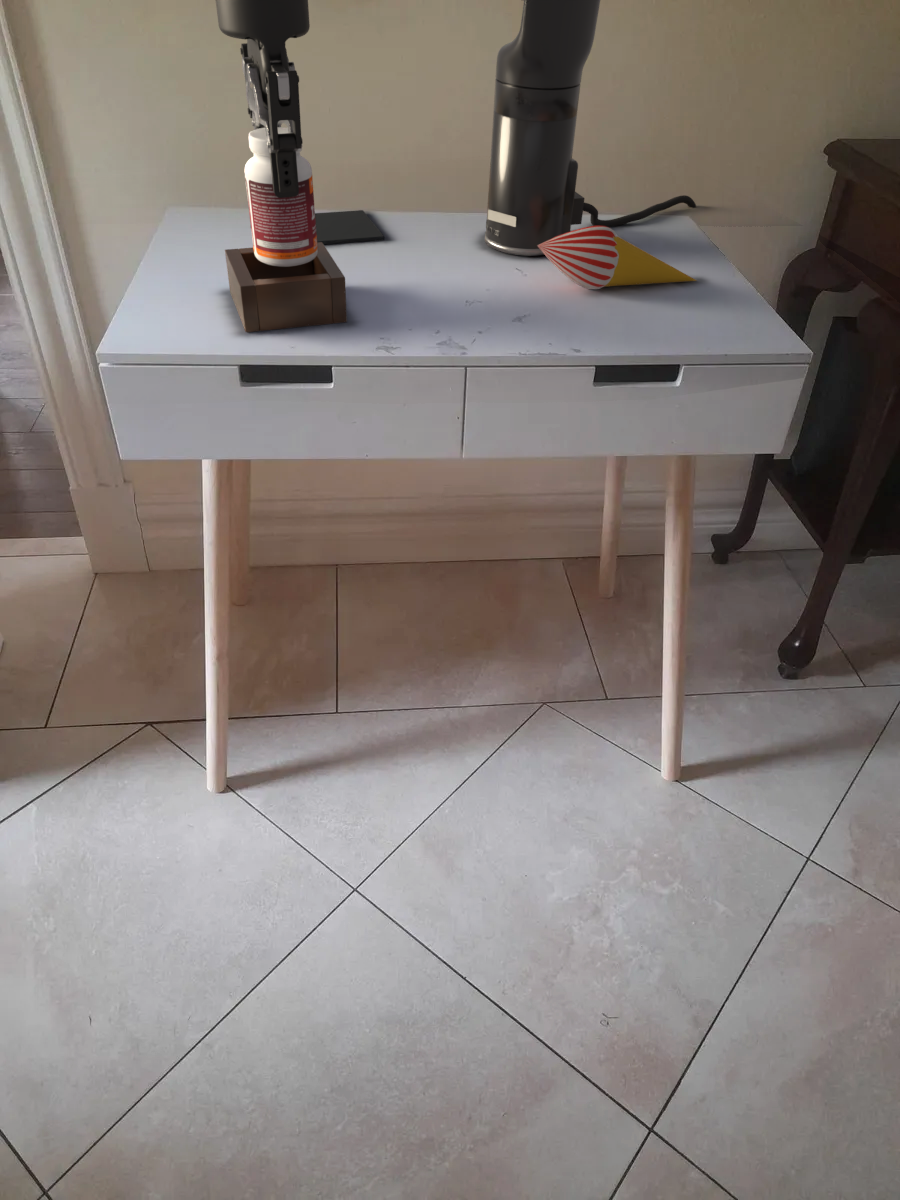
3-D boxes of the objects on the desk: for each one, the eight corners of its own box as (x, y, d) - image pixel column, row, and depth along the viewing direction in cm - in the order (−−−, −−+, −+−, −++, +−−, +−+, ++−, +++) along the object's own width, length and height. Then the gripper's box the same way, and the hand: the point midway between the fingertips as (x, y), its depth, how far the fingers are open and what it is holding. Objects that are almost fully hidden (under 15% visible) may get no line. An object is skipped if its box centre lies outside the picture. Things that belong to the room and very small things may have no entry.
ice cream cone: (684, 321, 102) (526, 290, 95) (677, 274, 104) (522, 240, 97) (717, 289, 96) (552, 253, 89) (710, 240, 98) (548, 201, 91)
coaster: (363, 213, 113) (362, 209, 113) (384, 239, 106) (384, 236, 106) (285, 218, 111) (284, 215, 110) (301, 246, 103) (301, 242, 103)
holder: (324, 284, 95) (322, 241, 92) (347, 322, 88) (345, 277, 85) (230, 293, 92) (224, 249, 89) (245, 332, 85) (240, 286, 82)
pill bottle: (329, 261, 86) (321, 137, 79) (271, 273, 84) (257, 146, 76) (300, 241, 90) (290, 121, 83) (244, 252, 87) (228, 129, 80)
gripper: (324, -24, 67) (337, 206, 78) (287, -46, 78) (303, 161, 89) (224, -23, 65) (252, 213, 76) (200, -46, 76) (227, 166, 87)
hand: (279, 184), depth 82 cm, fingers closed on pill bottle, 6 cm apart
